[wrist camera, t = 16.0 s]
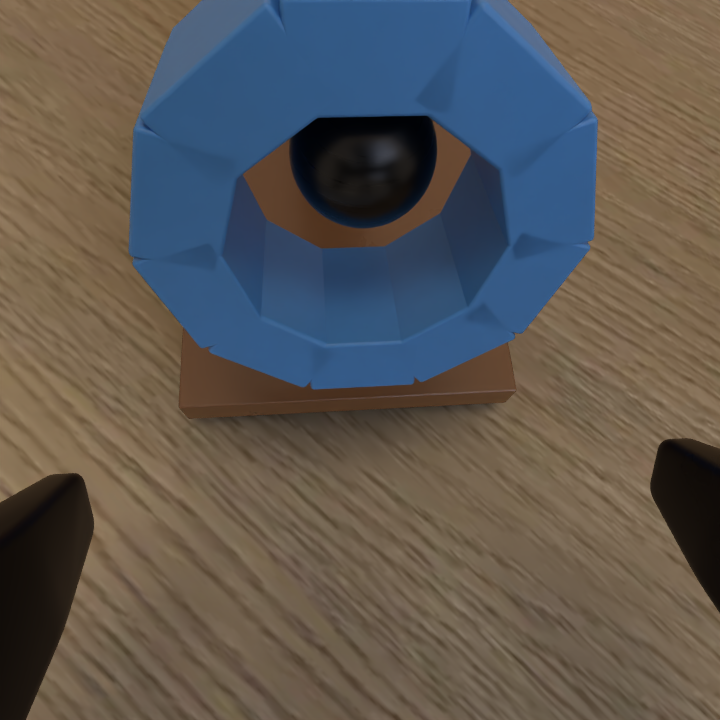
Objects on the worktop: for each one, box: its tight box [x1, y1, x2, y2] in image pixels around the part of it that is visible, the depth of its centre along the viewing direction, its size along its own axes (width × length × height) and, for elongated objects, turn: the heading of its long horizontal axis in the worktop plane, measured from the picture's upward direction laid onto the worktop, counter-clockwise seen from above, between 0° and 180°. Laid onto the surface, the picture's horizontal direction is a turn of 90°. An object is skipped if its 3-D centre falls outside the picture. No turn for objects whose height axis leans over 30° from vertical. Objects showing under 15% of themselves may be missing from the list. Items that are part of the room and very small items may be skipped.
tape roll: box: [129, 0, 598, 390], centre depth 10 cm, size 3×8×7 cm, turn 94°
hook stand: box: [179, 116, 516, 419], centre depth 15 cm, size 15×10×11 cm, turn 4°
